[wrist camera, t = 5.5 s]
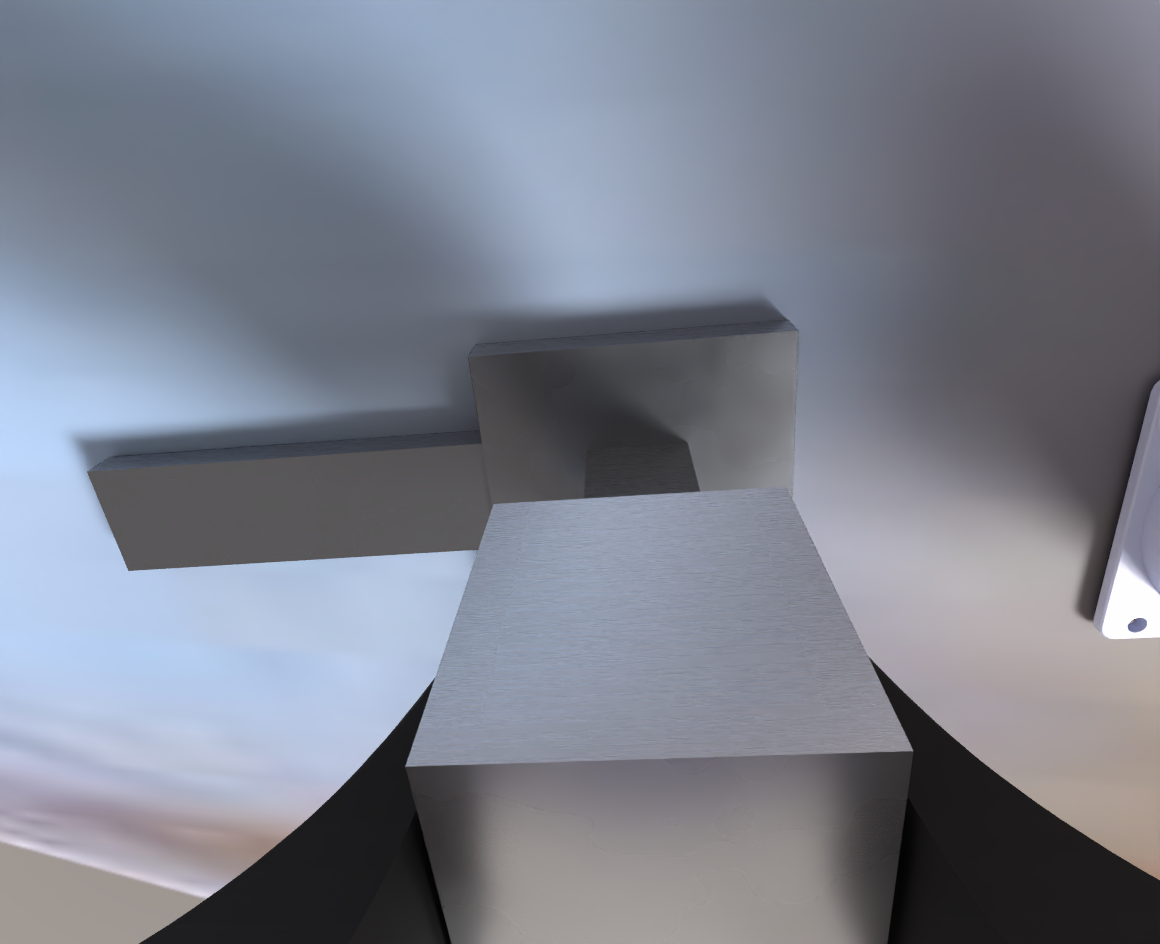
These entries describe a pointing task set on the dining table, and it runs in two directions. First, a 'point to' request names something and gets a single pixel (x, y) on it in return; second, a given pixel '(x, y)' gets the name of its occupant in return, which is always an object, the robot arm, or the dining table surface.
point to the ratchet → (480, 453)
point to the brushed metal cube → (658, 733)
